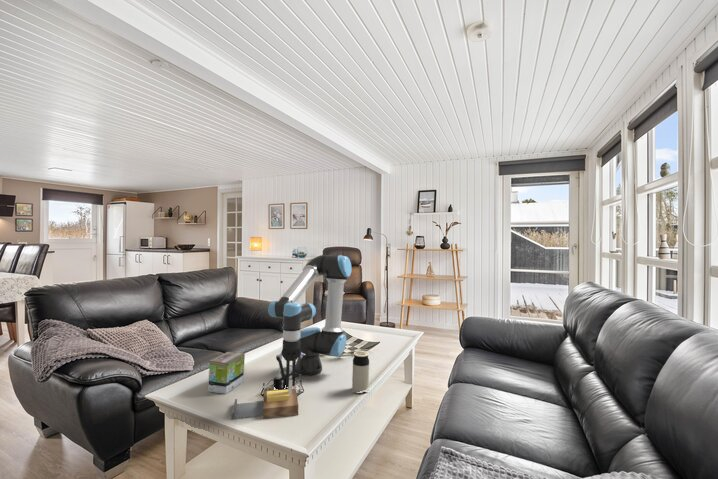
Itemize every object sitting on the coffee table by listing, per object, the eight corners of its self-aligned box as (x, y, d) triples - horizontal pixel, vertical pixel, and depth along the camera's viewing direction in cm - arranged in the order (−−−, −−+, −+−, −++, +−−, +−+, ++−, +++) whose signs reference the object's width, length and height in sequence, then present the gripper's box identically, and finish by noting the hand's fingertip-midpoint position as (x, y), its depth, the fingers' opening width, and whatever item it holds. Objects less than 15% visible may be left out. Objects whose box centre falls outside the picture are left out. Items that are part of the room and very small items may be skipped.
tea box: (226, 394, 153) (227, 362, 153) (207, 392, 155) (208, 360, 155) (244, 381, 168) (245, 352, 168) (226, 379, 170) (227, 350, 170)
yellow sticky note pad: (287, 394, 146) (288, 389, 146) (288, 400, 140) (288, 395, 140) (266, 395, 144) (266, 391, 144) (266, 402, 138) (266, 397, 138)
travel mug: (356, 395, 155) (357, 356, 155) (349, 388, 162) (350, 351, 162) (371, 392, 159) (372, 354, 159) (363, 385, 166) (364, 349, 166)
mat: (263, 402, 146) (264, 396, 146) (263, 416, 135) (263, 409, 135) (235, 404, 143) (235, 399, 143) (231, 419, 132) (231, 412, 132)
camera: (283, 396, 153) (284, 374, 153) (271, 393, 155) (272, 372, 155) (300, 383, 167) (300, 363, 167) (288, 381, 169) (288, 362, 169)
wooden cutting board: (295, 397, 152) (295, 388, 152) (298, 414, 136) (298, 405, 136) (263, 400, 148) (264, 391, 148) (262, 418, 133) (263, 408, 133)
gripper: (305, 336, 149) (304, 388, 149) (276, 337, 146) (274, 391, 145) (307, 340, 142) (306, 396, 141) (276, 342, 138) (274, 399, 138)
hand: (290, 393), depth 143 cm, fingers closed
